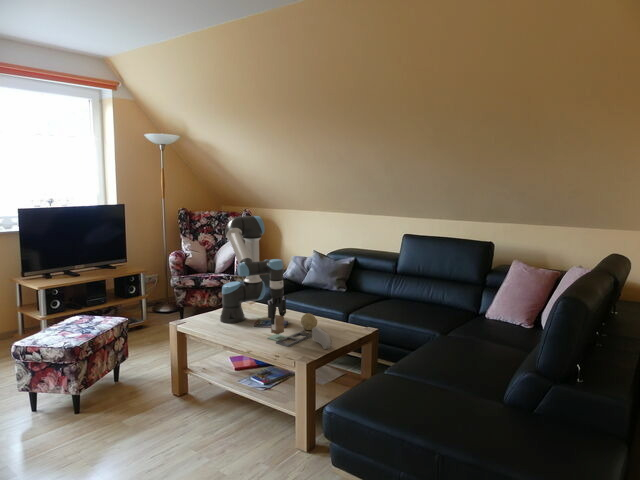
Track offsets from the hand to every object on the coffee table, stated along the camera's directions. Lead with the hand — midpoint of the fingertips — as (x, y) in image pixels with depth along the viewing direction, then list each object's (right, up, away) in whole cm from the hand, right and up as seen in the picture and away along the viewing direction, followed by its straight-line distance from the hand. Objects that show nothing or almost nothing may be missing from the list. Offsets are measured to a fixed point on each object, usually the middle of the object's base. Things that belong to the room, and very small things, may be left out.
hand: (277, 328), depth 269 cm
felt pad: (0, -6, +1) cm, 6 cm away
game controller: (+24, -7, -10) cm, 27 cm away
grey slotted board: (+10, -6, -2) cm, 12 cm away
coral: (+17, -4, +15) cm, 23 cm away
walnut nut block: (0, -2, 0) cm, 2 cm away
